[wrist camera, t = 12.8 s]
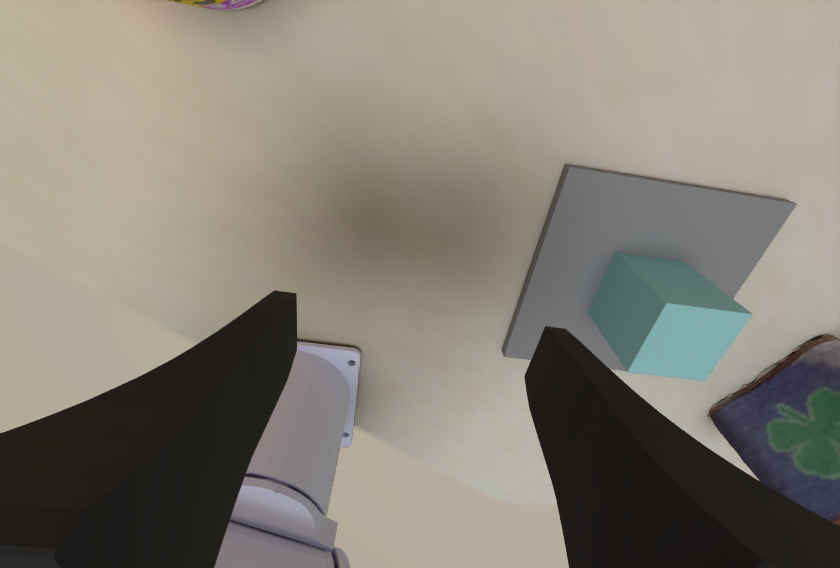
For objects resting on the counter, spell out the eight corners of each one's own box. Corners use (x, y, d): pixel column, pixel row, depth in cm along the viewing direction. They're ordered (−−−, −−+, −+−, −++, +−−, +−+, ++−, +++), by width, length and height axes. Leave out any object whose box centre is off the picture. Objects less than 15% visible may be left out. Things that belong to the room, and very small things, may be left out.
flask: (824, 327, 24) (1072, 494, 15) (848, 347, 25) (1098, 516, 16) (698, 412, 28) (835, 586, 19) (723, 426, 29) (865, 600, 20)
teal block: (651, 320, 23) (704, 380, 19) (587, 312, 23) (627, 372, 18) (684, 261, 21) (752, 314, 17) (615, 251, 21) (666, 302, 16)
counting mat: (674, 370, 26) (679, 377, 26) (502, 350, 25) (503, 356, 25) (787, 199, 20) (797, 203, 19) (565, 164, 19) (569, 166, 18)
